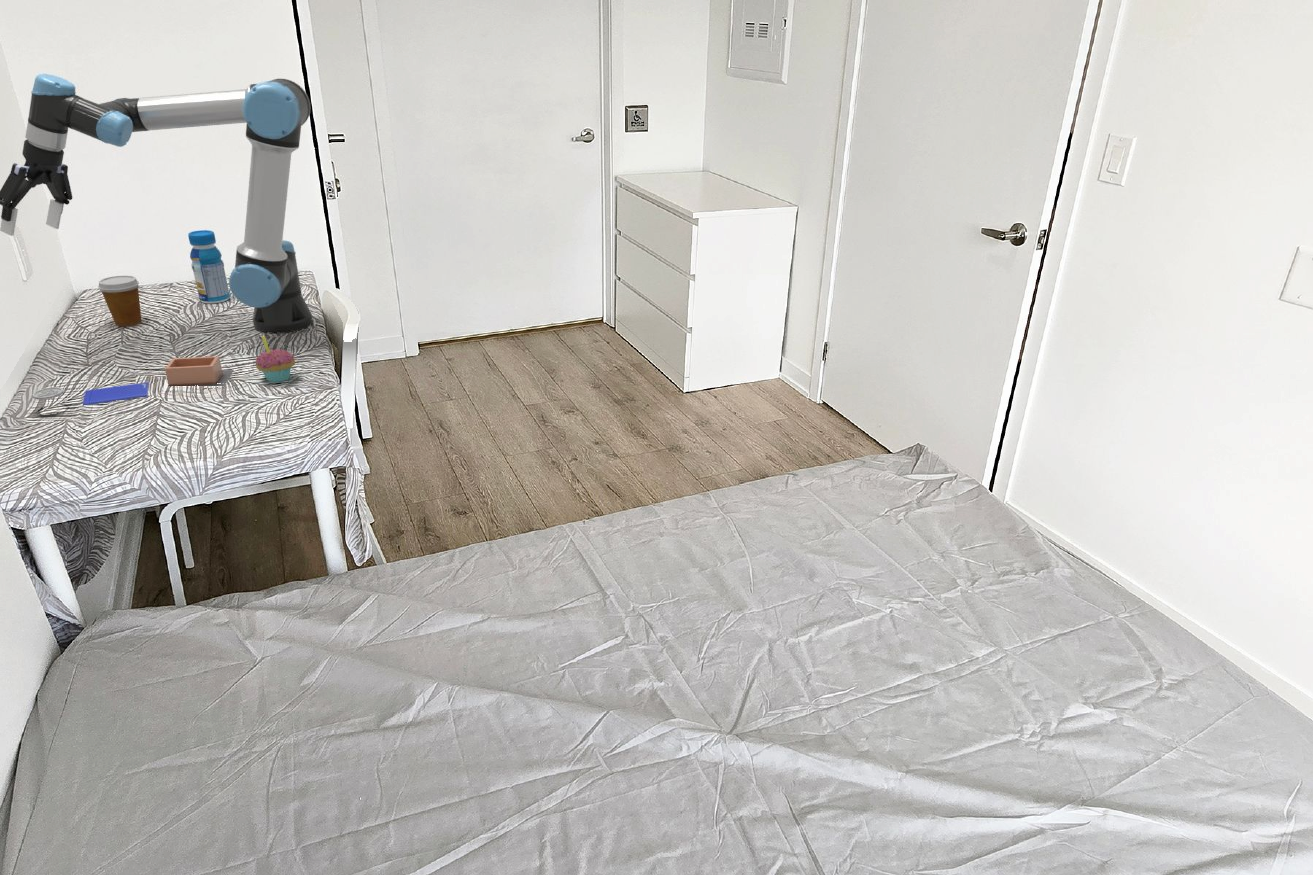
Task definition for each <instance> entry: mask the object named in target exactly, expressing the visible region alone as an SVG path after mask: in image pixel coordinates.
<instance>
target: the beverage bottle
mask: <svg viewBox="0 0 1313 875" xmlns="http://www.w3.org/2000/svg"><path fill="white" fill-rule="evenodd" d="M187 235H188V241H189V244H190V246H192V248H191V249H190V250H191V251H190V252H189V258H190V260H191V270H192V271H193V272H192V273H193V276H194V280H195V285H196V288H197V294H198V299H199V301H200V302H201V303H203V304H207V305H208V304H212V305H213V304H221V303H224V302H226V301H229V300H230V298H231V296H230V292H229V286H228V285H229V284H228V281H227V276H226V272H225V263H224V260H222V253H221V251H220V249H218V248H219V247H217V246H216V245H215V244H216V241H217V240H216V236H215V233H214V231H213V230H207V229H202V230H199V229H198V230H193V231H190V232H189V233H188V234H187Z"/></svg>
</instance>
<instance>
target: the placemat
mask: <svg viewBox="0 0 1313 875" xmlns="http://www.w3.org/2000/svg"><path fill="white" fill-rule="evenodd" d="M234 371H235V370H234V369H224V370H223V369H222V372H223V374H222V376H221V378H220V379H219V381H218V383H221V384H214V385H198V386H224V387H222V388H221V389H224V388H225V386H226V384H227V383H228V381H229V380H230V378H231V376H232V374H233V373H234ZM222 383H224V384H222ZM225 383H226V384H225ZM196 386H197V385H196ZM208 389H209V390H211V389H213V388H208ZM208 389H207V388H204V389H203V390H208ZM216 389H219V388H218V387H217V388H216ZM196 390H198V389H197V388H196Z"/></svg>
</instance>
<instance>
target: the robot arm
mask: <svg viewBox="0 0 1313 875" xmlns="http://www.w3.org/2000/svg"><path fill="white" fill-rule="evenodd" d="M311 108H312V107H311V101H310V98H309V95H308V94H307V92H306V90H304V88H303V87H302V86H301V85H300V84H298V83H296V82H295V81H293V80H290V79H287V78H274V79H272V80H268V81H263V82H259V83H253V84H252V83H251V84H248V87H247V88H246V89H231V90H222V91H221V90H220V91H208V92H196V93H185V94H184V93H183V94H182V93H181V94H171V95H170V94H169V95H160V96H158V95H157V96H147V97H137V98H136V97H134V98H129V97H121V98H116V99H114V100H111V101H107V102H101V103H96V102H94V101H91V100H88V99H86V98H84V97H81V96H79V95H77V94H76V86H75V84H74V83H72V82H70V81H69V80H68V79H65V78H63V77H60V76H57V75H54V74H48V73H39V74H37V75H36V77H35V78H34V82H33V86H32V90H31V97H30V104H29V110H28V111H29V112H28V118H27V124H26V130H25V136H24V137H25V140H24V141H23V148H22V156H23V158H24V160H25V162H24V164H23V165H20V164H18V163H13V164H12V166H11V170H10V173H9V175H8V176H7V178H6V180H5V182H4V184H3V185H2V186H1V189H0V206H2V209H1V214H0V218H1V223H0V232H2V233H4V234H6V235H8V236H10V237H13V236H14V235H15V228H16V225H17V224H16V223H17V217H18V212H19V211H18V210H19V209H18V208H16V207H17V206H19V204H20V203H21V201H22V200H23V199H24V197H25V196H27V194H28V193H29V191H30V190H31V189H32V188H36V187H37V186H38V185H42V184H43V185H46V187H47V189H48V191H49V193H50V194H51V196H52V199H51V198H50V199H49V200H50V201H49V205H48V211H47V215H46V216H47V217H46V222H45V224H46V226H49V227H51V228H53V229H55V230H59V228H60V223H61V218H62V214H63V211H64V206H65V205H66V206H67V205H69V204H70V201H72V200H73V192H72V189H71V184H70V181H69V175H68V171H69V170H68V169H69V167H68V165H67V164H64V163H63V161H64V154H65V152H64V150H65V148H66V147H67V146H66V145H67V139H68V132H69V129H71V130H73V131H75V132H78V133H80V134H84V135H86V136H87V137H91V138H94V139H96V140H97V141H101V142H102V143H104V144H107V145H108V144H109V145H112V146H115V147H118V148H119V147H120V148H122V147H125V146H126V145H127V143H128V142H129V141H130V140H131V137H132V134H133V133H137V132H148V131H158V130H160V131H161V130H171V129H184V128H196V127H197V128H199V127H210V126H221V125H222V126H224V125H235V124H246V128H245V137H246V139H247V140H248V141H249V143H250V144H251V156H250V166H249V167H250V168H249V180H248V192H247V202H246V204H247V205H246V216H245V227H244V238H243V242H242V243H240V244H239V245H237V246H236V251H235V252H236V253H235V263H234V264H235V265H234V269H232V271H231V272H230V275H229V279H228V285H229V286H228V287H229V289H230V292H231V294H232V295H233V296H234V297H235V298H236V299H237V300H238V301H239V302H240V303H242V304H243V305H246V306H247V307H251V308H253V315H252V323H253V328H254V329H255V330H256V331H258V332H261V333H267V332H284V333H289V332H296V331H300V330H302V329H305V328H307V327H308V328H309V326H312V324H313V322H314V321H313V313H312V312H311V309H310V308H309V306H308V304H307V302H306V300H305V299H304V296H303V293H302V288H301V281H300V276H299V275H300V274H299V269H298V262H297V258H296V257H297V256H296V251H295V248H294V244H293V243H292V241H289V240H284V231H285V230H284V227H285V218H286V208H287V200H288V199H287V198H288V190H289V180H290V179H289V178H290V171H291V170H290V169H291V160H292V154H293V153H294V152H295V151H296V150H298V149H300V140H301V131H302V126H303V125H304V124H306V123H307V121H308V119H309V118H310V114H311Z"/></svg>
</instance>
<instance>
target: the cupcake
mask: <svg viewBox="0 0 1313 875" xmlns="http://www.w3.org/2000/svg"><path fill="white" fill-rule="evenodd" d="M260 334H261V340H262V343H263V344H264V347H265V351H263V352H261V353H259V355H258V356H257V357H256V358H255V361H254V362H255V367H256V369H257V370H259V371H261V372H262V374H263V375H264V377H265V378H266V380H267V381H268V382H272V383H279V382H283V381H286V380H287V379H288V378H289V379H290V374H291V370H292V368H293V366H295V365H296V359H295V357H294V355H293V354H292V353H291V352H290V351H287V350H285V349H282V348H280V349H278V348H274V349H270V348H269V345H268V342H267V339H266V336H265V335H263V333H260ZM289 379H288V380H289ZM288 380H287V381H288Z"/></svg>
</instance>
